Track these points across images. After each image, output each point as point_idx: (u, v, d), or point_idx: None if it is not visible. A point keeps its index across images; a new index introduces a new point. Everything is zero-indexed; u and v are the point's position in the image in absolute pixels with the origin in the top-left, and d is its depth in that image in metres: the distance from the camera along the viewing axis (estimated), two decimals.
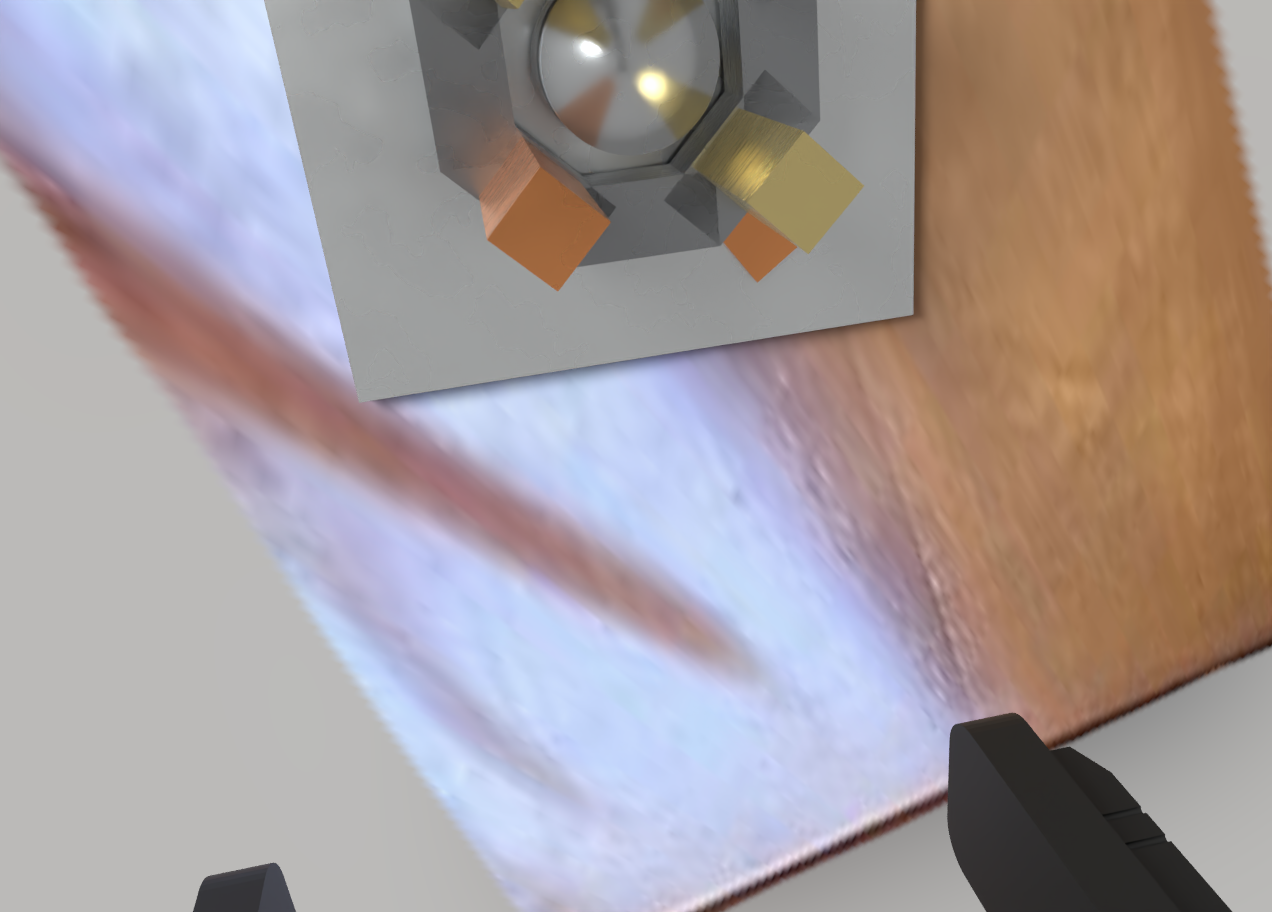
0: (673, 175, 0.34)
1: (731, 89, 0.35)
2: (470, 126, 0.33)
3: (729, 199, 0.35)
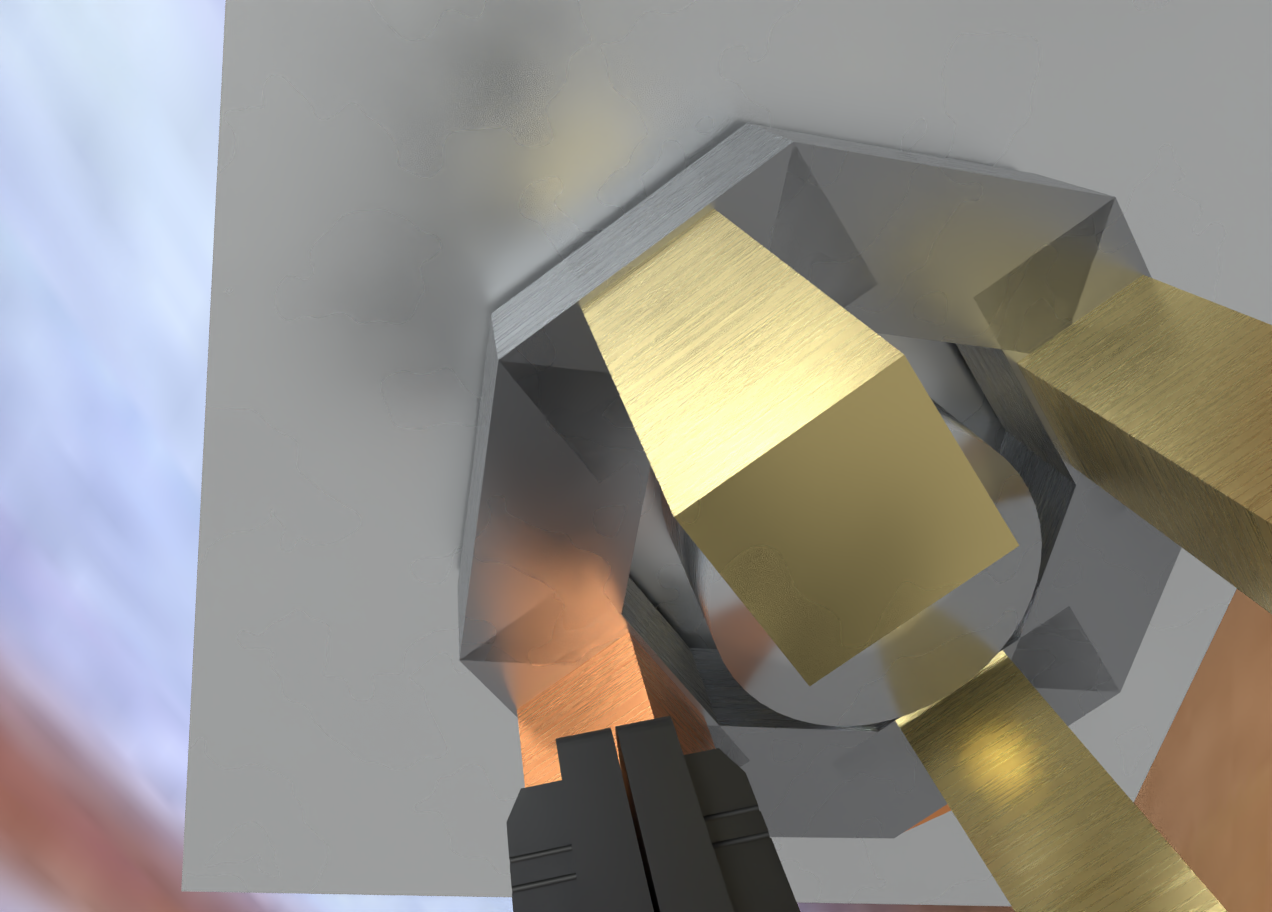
0: (860, 728, 0.19)
1: None
2: (540, 600, 0.17)
3: None
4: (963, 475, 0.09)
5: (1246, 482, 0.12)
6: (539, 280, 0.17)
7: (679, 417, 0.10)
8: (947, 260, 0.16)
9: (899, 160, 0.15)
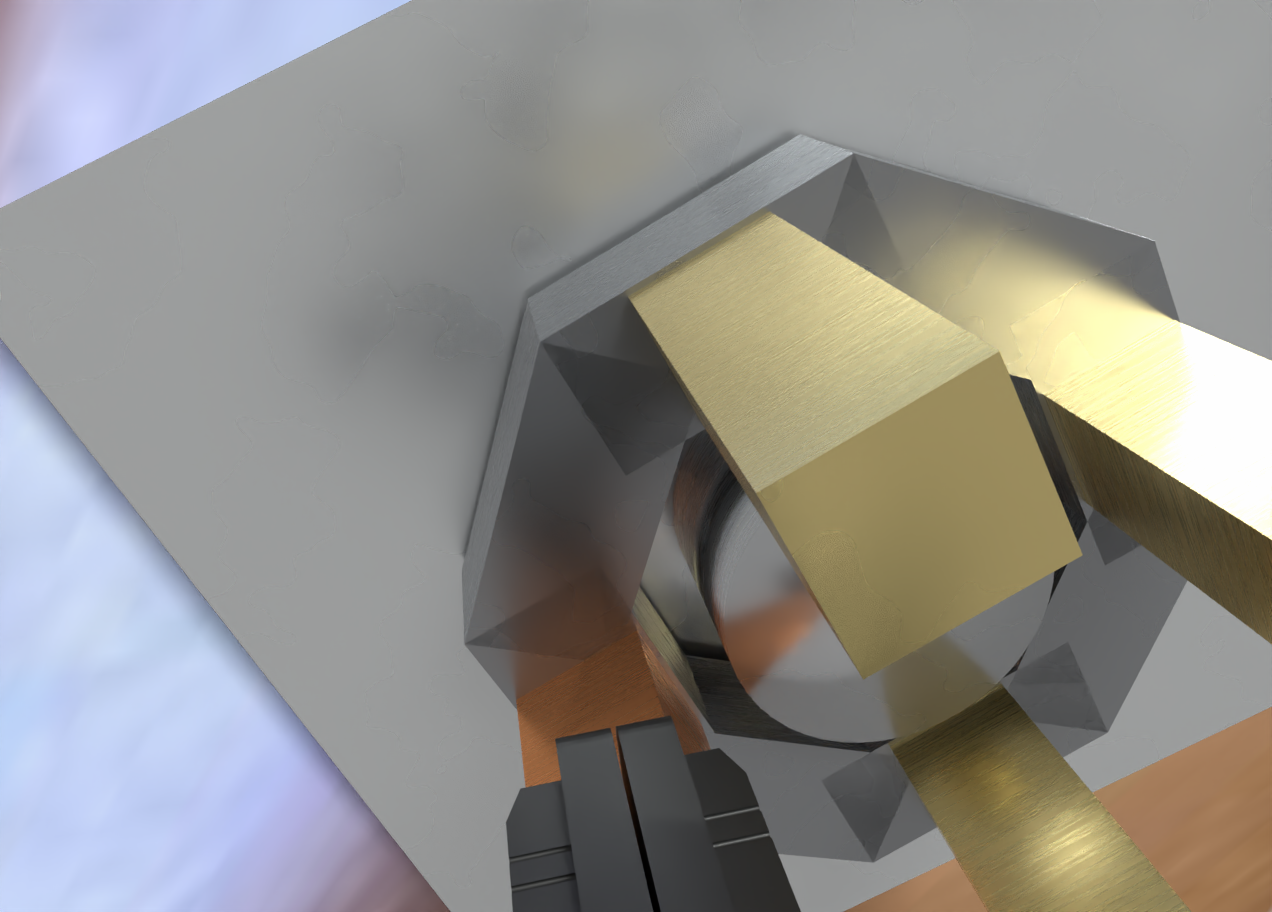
0: (852, 747, 0.19)
1: None
2: (553, 589, 0.17)
3: (921, 804, 0.20)
4: (1039, 478, 0.09)
5: None
6: (579, 270, 0.17)
7: (751, 400, 0.10)
8: (988, 286, 0.16)
9: (953, 182, 0.15)
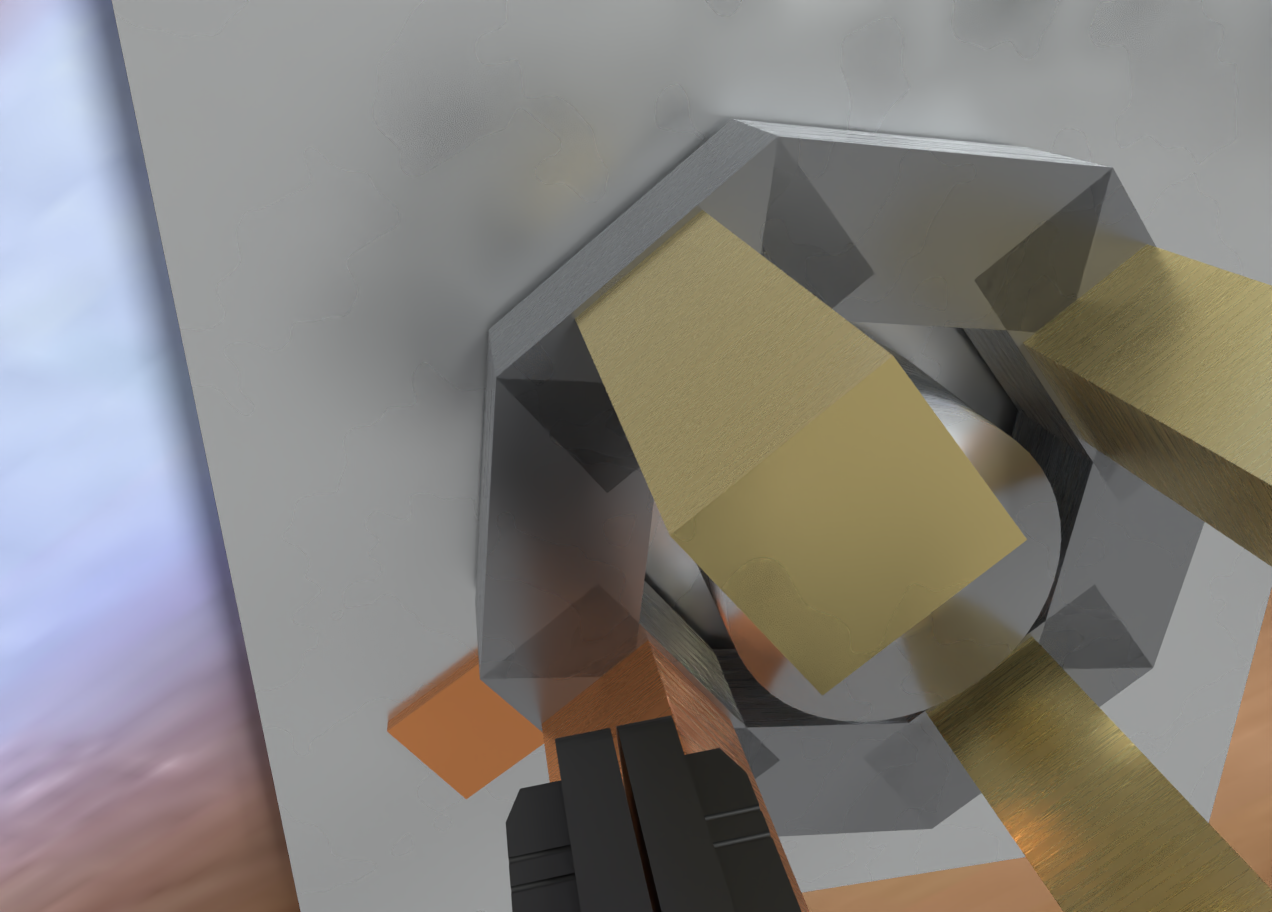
0: (889, 720, 0.19)
1: None
2: (557, 614, 0.17)
3: None
4: (963, 473, 0.09)
5: (1262, 454, 0.12)
6: (534, 292, 0.17)
7: (673, 429, 0.10)
8: (943, 243, 0.15)
9: (887, 147, 0.15)
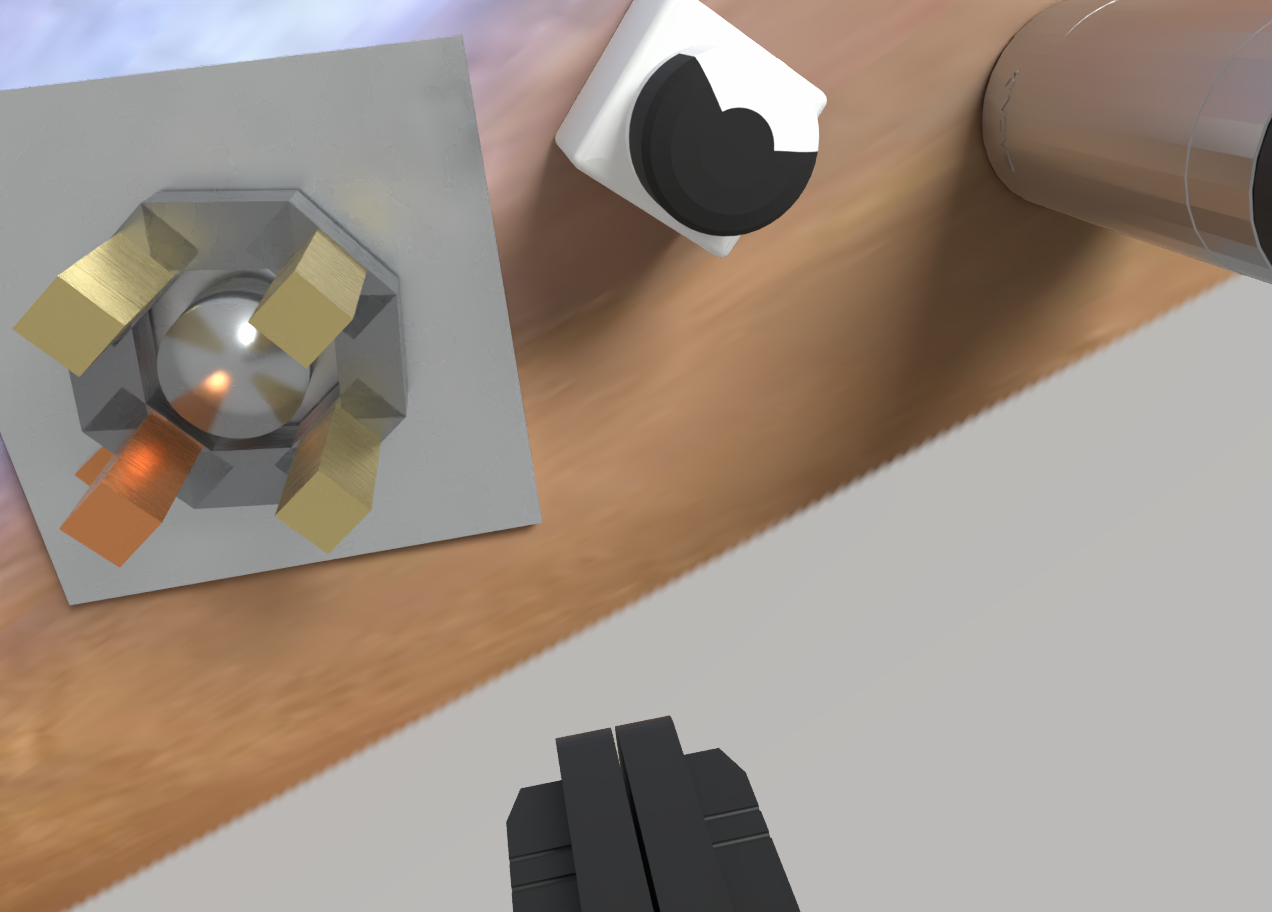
0: (282, 447, 0.43)
1: None
2: (107, 401, 0.41)
3: None
4: (94, 306, 0.33)
5: (261, 301, 0.36)
6: None
7: None
8: (225, 236, 0.39)
9: (188, 202, 0.39)
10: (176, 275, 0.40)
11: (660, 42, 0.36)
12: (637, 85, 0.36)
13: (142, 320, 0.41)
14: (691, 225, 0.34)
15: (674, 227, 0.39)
